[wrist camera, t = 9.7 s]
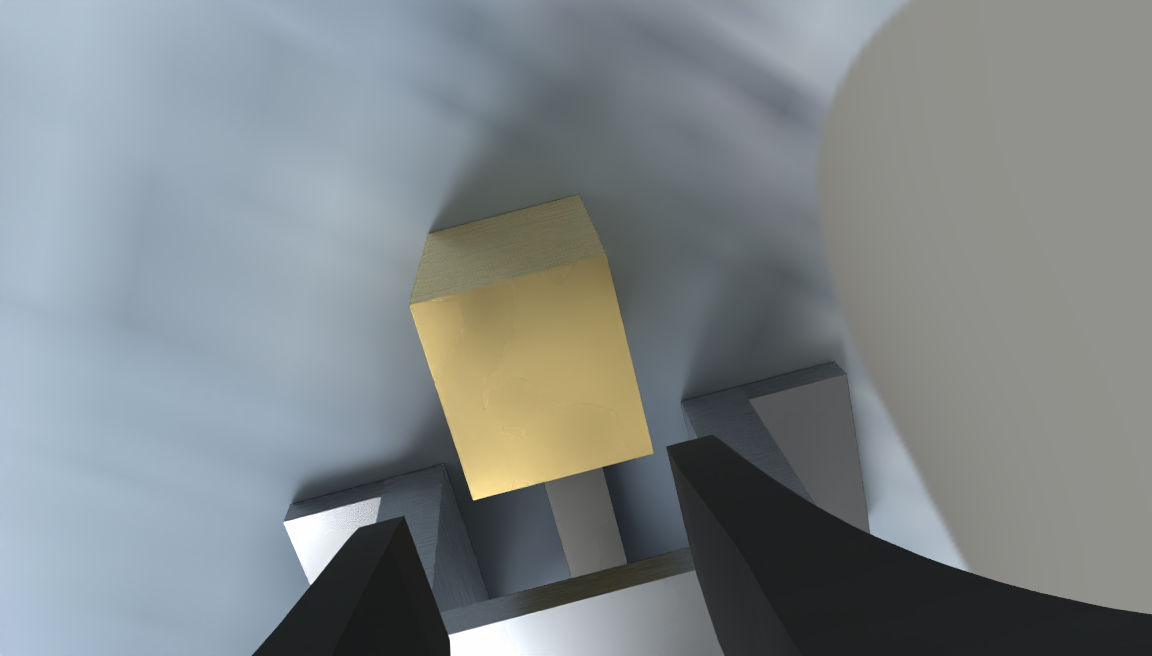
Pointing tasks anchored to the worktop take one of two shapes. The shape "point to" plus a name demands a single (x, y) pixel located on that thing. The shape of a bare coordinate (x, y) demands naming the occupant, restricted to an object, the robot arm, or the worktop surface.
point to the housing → (623, 593)
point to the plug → (534, 365)
